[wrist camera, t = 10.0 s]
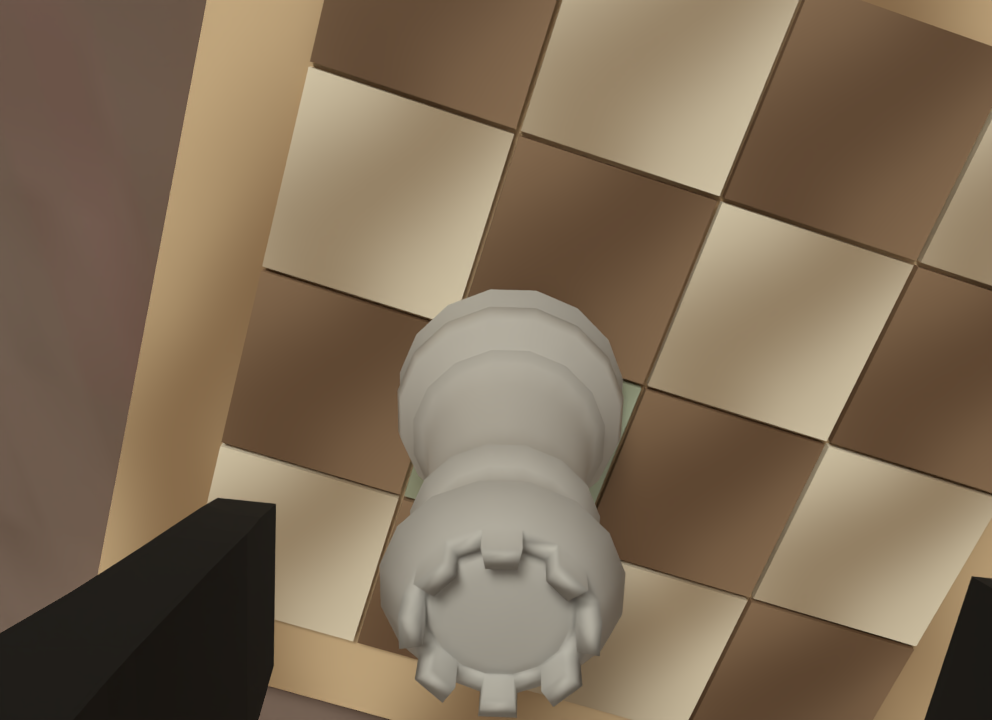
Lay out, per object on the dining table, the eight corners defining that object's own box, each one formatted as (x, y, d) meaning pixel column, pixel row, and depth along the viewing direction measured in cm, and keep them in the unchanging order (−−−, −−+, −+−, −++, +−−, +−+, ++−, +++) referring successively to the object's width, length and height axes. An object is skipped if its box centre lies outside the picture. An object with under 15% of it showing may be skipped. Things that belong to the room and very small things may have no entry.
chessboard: (1346, 45, 17) (1394, 48, 16) (866, 826, 24) (880, 859, 23) (287, -339, 15) (271, -362, 15) (100, 614, 22) (82, 641, 21)
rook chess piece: (647, 308, 18) (731, 517, 11) (590, 504, 20) (628, 806, 12) (423, 258, 18) (348, 437, 10) (383, 460, 20) (294, 740, 12)
